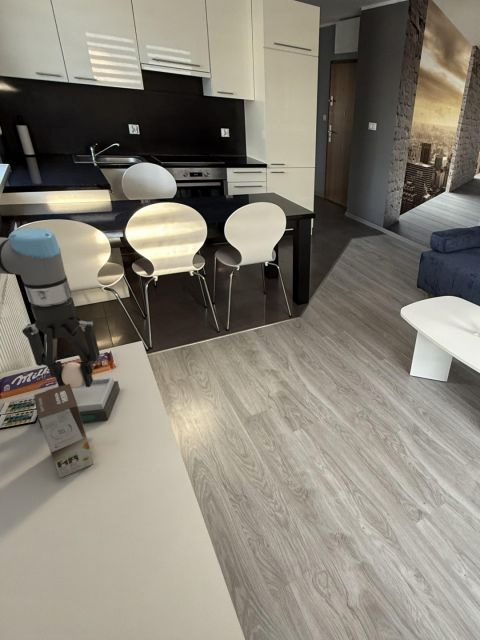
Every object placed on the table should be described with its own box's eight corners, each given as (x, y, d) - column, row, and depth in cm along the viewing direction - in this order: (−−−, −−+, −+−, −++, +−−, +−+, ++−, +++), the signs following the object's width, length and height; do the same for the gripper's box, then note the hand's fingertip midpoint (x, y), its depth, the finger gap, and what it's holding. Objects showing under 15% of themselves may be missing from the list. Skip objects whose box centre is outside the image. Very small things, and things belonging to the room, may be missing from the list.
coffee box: (95, 463, 86) (78, 406, 79) (59, 479, 82) (38, 419, 75) (86, 438, 92) (69, 382, 85) (52, 451, 88) (32, 394, 81)
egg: (60, 391, 95) (52, 368, 92) (74, 378, 99) (68, 356, 97) (79, 393, 95) (73, 370, 92) (93, 380, 99) (87, 358, 96)
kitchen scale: (40, 429, 93) (34, 413, 91) (59, 395, 103) (54, 381, 101) (107, 421, 97) (103, 405, 95) (120, 389, 107) (116, 375, 105)
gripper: (-7, 310, 81) (26, 399, 91) (92, 305, 86) (114, 390, 96) (10, 294, 88) (40, 379, 98) (102, 291, 93) (121, 372, 103)
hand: (76, 384), depth 97 cm, fingers closed on egg, 5 cm apart
